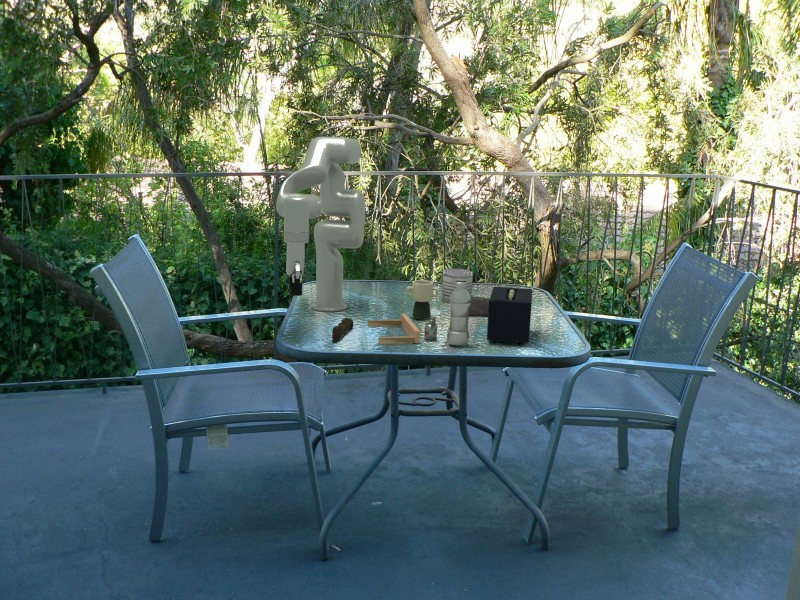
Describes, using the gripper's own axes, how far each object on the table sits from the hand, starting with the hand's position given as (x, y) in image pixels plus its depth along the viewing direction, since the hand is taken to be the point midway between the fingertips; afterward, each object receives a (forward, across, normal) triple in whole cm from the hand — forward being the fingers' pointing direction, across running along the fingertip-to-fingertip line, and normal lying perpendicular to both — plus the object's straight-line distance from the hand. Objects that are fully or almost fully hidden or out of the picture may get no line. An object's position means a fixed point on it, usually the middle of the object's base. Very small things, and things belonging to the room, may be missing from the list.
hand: (295, 292), depth 257 cm
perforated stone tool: (+13, -25, +67) cm, 72 cm away
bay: (+14, -1, +30) cm, 33 cm away
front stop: (+14, -1, +37) cm, 39 cm away
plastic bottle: (+14, +13, +49) cm, 53 cm away
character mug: (+14, -21, +45) cm, 51 cm away
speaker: (+14, +5, +68) cm, 69 cm away
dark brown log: (+14, 0, +15) cm, 21 cm away
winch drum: (+14, +6, +42) cm, 44 cm away
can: (+13, -46, +64) cm, 80 cm away
